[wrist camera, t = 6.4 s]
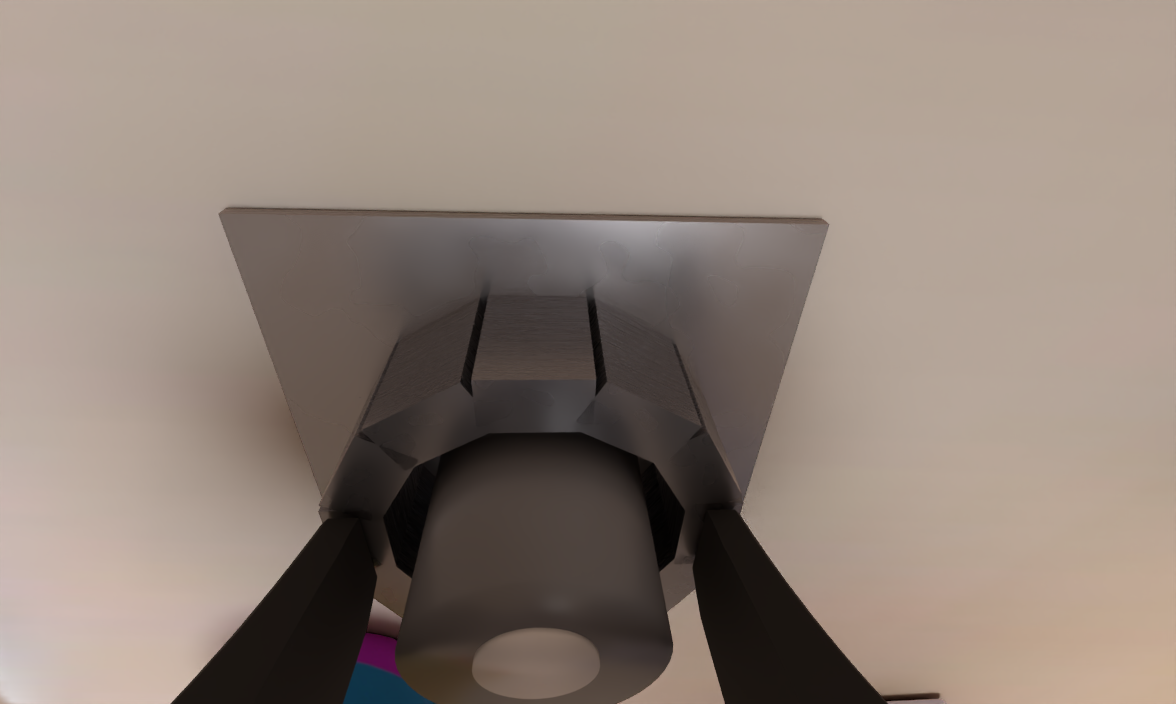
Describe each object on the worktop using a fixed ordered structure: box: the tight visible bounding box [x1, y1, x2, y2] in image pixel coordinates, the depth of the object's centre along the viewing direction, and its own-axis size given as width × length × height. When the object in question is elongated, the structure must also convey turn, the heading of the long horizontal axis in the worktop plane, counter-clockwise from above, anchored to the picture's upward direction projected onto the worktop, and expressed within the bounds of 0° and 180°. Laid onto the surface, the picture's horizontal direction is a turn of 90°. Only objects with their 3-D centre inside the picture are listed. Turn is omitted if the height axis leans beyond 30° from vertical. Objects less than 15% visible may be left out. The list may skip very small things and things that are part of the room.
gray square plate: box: [218, 208, 829, 618], centre depth 13 cm, size 12×12×3 cm
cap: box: [395, 432, 673, 704], centre depth 11 cm, size 5×5×6 cm
